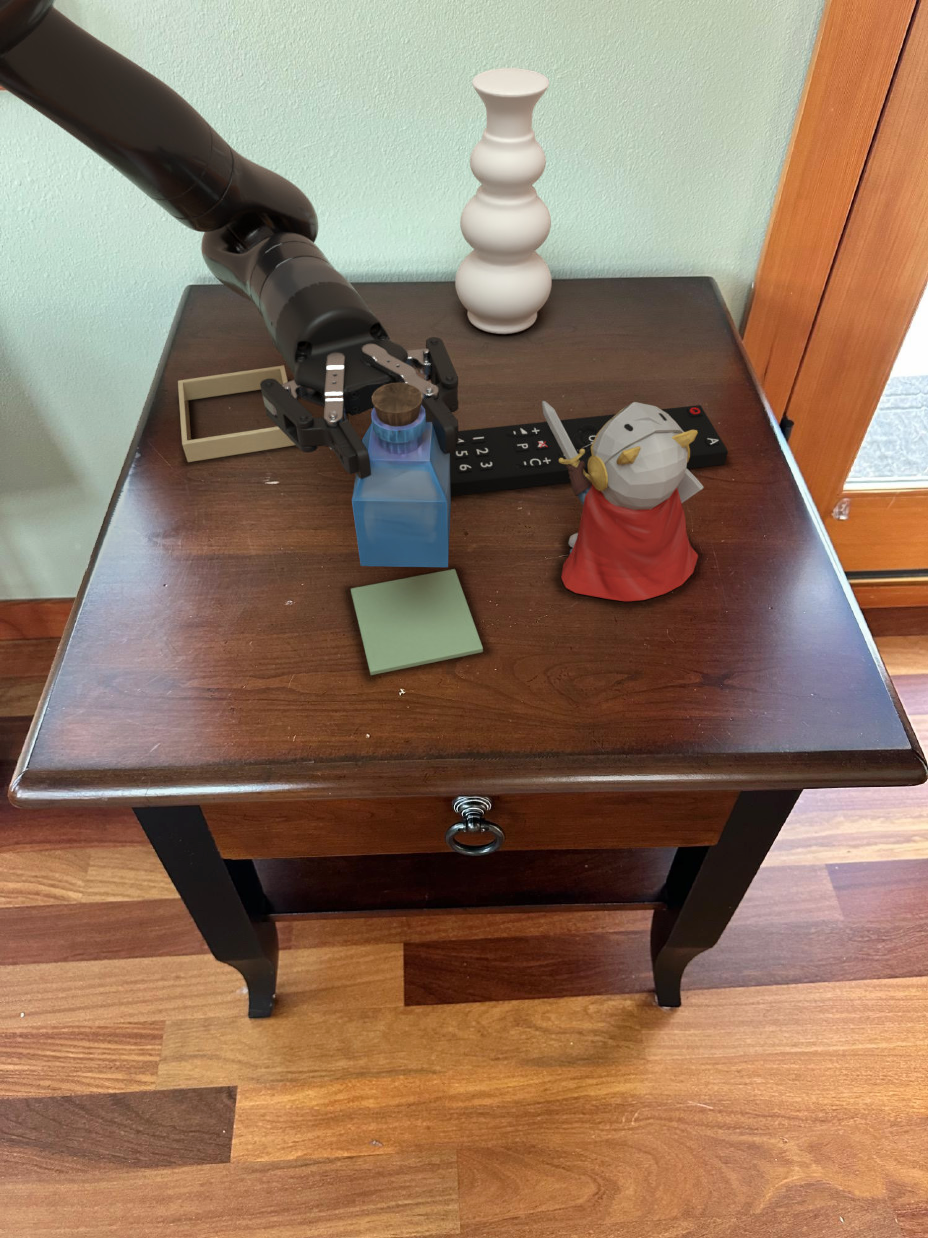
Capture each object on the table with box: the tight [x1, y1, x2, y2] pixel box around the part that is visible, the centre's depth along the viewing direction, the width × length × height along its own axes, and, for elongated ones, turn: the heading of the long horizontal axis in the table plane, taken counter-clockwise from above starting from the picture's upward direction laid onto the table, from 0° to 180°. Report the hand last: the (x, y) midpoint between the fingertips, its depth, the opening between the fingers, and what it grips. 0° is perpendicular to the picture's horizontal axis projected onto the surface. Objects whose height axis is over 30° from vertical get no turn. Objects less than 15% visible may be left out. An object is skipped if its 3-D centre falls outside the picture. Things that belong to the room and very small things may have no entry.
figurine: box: [541, 400, 704, 603], centre depth 67 cm, size 13×11×15 cm
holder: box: [177, 365, 296, 463], centre depth 85 cm, size 11×11×2 cm
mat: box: [350, 568, 484, 676], centre depth 68 cm, size 9×9×1 cm
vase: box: [454, 67, 553, 335], centre depth 89 cm, size 11×11×25 cm
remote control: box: [450, 404, 729, 497], centre depth 81 cm, size 8×32×2 cm, turn 100°
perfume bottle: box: [351, 383, 452, 568], centre depth 57 cm, size 6×6×12 cm
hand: (408, 453), depth 54 cm, fingers closed on perfume bottle, 5 cm apart
